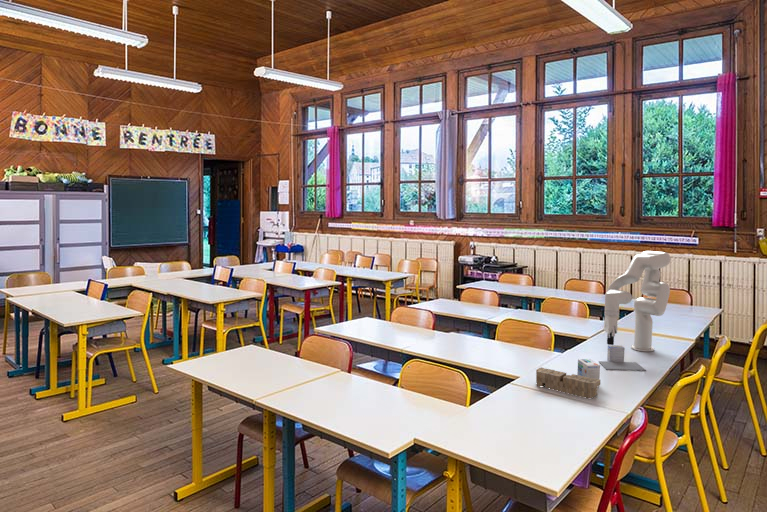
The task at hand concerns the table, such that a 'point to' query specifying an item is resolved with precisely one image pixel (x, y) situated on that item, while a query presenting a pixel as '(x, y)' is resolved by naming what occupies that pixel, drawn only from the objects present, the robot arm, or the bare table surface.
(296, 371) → the table surface
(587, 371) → the light bulb box
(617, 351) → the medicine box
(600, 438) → the table surface
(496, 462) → the table surface
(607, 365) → the mat
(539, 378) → the brown segmented bar
